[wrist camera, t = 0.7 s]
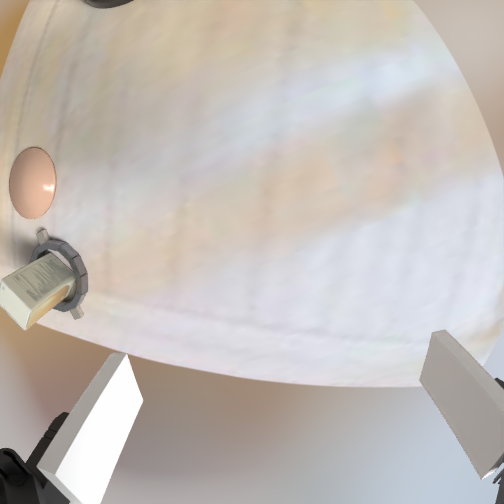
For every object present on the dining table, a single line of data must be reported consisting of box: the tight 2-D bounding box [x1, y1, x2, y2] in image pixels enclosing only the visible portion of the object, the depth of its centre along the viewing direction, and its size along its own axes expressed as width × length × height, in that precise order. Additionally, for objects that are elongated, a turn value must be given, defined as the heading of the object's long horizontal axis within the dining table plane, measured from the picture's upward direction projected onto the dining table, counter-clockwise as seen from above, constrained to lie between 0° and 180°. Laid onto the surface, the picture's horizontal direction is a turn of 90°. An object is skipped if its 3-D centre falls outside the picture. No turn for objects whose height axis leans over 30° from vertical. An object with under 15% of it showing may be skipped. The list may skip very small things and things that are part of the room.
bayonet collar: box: [30, 229, 88, 319], centre depth 37 cm, size 15×11×2 cm
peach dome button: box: [9, 148, 56, 219], centre depth 34 cm, size 11×11×1 cm
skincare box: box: [0, 253, 76, 331], centre depth 32 cm, size 6×4×12 cm
